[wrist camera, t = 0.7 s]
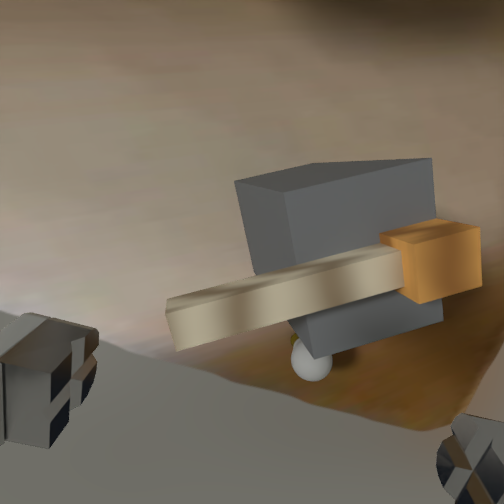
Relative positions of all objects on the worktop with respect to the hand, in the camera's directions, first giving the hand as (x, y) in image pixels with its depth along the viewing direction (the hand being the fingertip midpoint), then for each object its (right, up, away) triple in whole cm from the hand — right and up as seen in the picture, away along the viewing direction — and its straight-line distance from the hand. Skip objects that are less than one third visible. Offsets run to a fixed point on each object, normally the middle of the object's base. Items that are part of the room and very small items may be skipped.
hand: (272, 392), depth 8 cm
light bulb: (+7, -11, +50) cm, 52 cm away
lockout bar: (+4, +1, +20) cm, 20 cm away
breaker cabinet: (+4, +8, +45) cm, 46 cm away
